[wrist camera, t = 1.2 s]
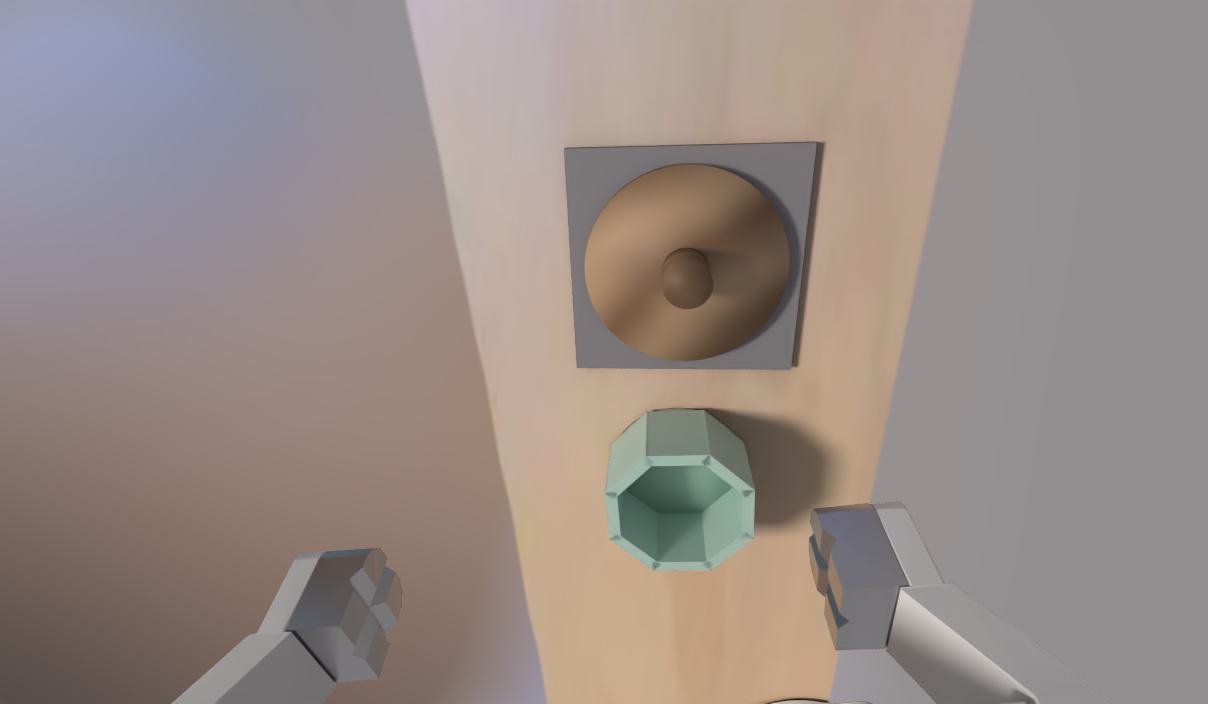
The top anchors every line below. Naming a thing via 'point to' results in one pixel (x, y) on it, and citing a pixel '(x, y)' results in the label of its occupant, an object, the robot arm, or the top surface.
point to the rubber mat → (608, 169)
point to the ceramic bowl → (679, 491)
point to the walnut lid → (686, 262)
